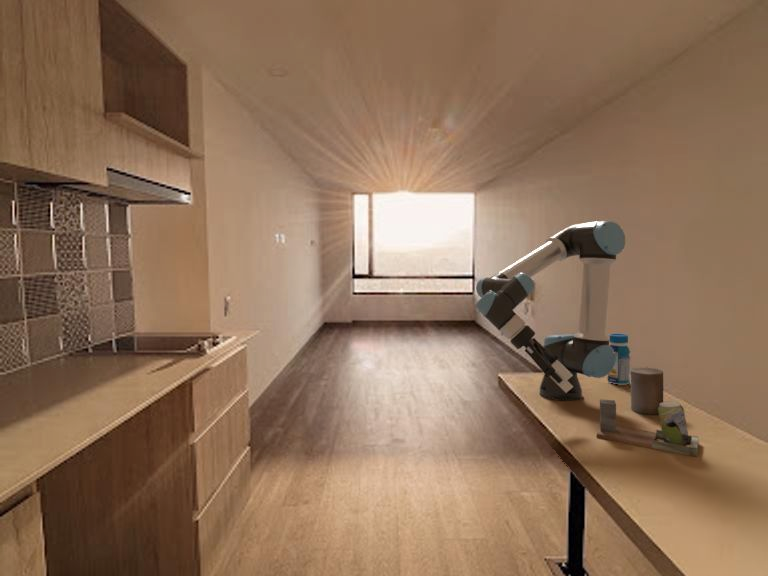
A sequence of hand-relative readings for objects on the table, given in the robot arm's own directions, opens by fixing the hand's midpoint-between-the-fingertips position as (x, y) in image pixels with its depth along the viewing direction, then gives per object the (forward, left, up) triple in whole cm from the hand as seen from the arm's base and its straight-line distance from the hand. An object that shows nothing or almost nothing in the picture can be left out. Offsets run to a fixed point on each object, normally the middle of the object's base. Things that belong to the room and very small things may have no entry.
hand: (569, 383), depth 138 cm
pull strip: (-3, +20, -14) cm, 24 cm away
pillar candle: (-32, +16, -14) cm, 39 cm away
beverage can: (-3, +26, -14) cm, 30 cm away
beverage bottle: (-64, +2, -14) cm, 66 cm away
